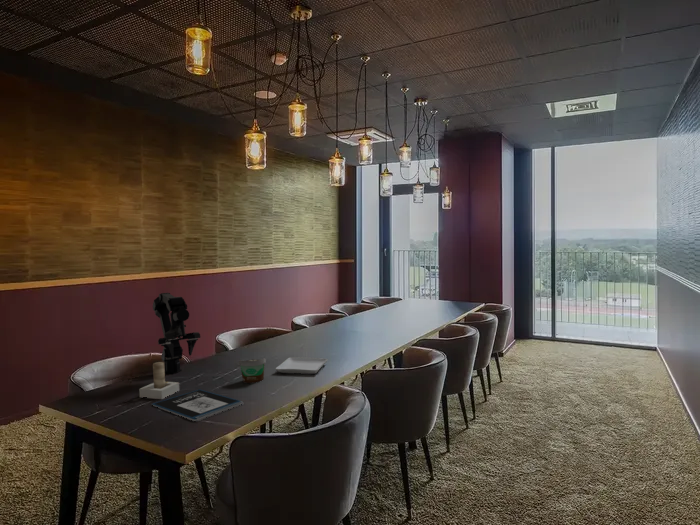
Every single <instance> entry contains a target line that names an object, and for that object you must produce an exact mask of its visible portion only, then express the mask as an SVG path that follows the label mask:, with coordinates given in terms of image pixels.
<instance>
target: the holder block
mask: <svg viewBox="0 0 700 525" xmlns="http://www.w3.org/2000/svg"><path fill="white" fill-rule="evenodd" d="M138 390H139V391H138V392H139V398H143V397H147V398H146V399H154V400H155V399H156V400H164V399H166V398H167V396H168V397H169V395H170V396H172V395H173V394H175V392H176V393H178V392H180V382H175V381H165V387H164V388H162V389H157V388H154V382H151V383H150V384H148V385H145V386H142V387H141V388H139V389H138ZM177 391H178V392H177ZM165 397H166V398H165Z"/></svg>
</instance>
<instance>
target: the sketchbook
mask: <svg viewBox="0 0 700 525" xmlns="http://www.w3.org/2000/svg"><path fill="white" fill-rule="evenodd" d="M241 404H242V405H244V401H242V400H239V399H236V398H231V397H228V396H224V395H221V394H217V393H214V392H211V391H207V390H203V389H200V388H199V389H195V390H193V391H190V392H186V393H182V394H180V395H177V396H173V397H170V398H167V399H166V398H165V399H162V400H159V401H156V402H153V403H151V406H152V405H153V407H155V408H157V407H158V409H160V410H162V411H165V412H168V413H170V412H171V413H170V414H174V415H176V416H178V415H179V416H178V417H181V416H182V417H181V418H183V417H184V419H186V418H187V419H186V420H189V421H191V420H192V421H191V422H194V421H196V422H200V421H202V420H206V419H208V418H210V417H214V416H216V415H217V414H218V415H219V414H222V413H225V411H226V412H227V411H230V409H231V410H232V409H236V407H237V408H240V407H241ZM239 405H240V406H239ZM233 407H234V408H233ZM228 409H229V410H228ZM222 411H223V412H222ZM214 414H215V415H214ZM206 417H207V418H206Z"/></svg>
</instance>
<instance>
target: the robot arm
mask: <svg viewBox="0 0 700 525" xmlns="http://www.w3.org/2000/svg"><path fill="white" fill-rule="evenodd" d="M187 309H188V304H187V303H186V301H185V298H183V297H182V296H174V295H172V294H171V293H170V292H160V293H159V295H158V297H157V296H156V298H155V299H153V302H152V311H154V315H155V316H156V317H158V318H159V321H160V324H161V326H160V327H161V329H162V334H163V337H161V338H159V339H158V342H157V345H160V346H161V347H163V349H162V352H161V361H162V362H164V370H165V374H172V375H174V374H177V373H179V372H181V371H182V369H181V363H180V360H182V359H183V352H184V349H183V348H182V346H181V343H180V341H184V340H186V343H187V349H188V356H192V354H193V350H194V348H195V345H196V343H197V341H199V339H201V334H200V332H199V331H196V332H187V333H186V330H185V328H186V327H187V325H186V324H185V322H186V321H187V320H188V319H189V318H190V312H189V310H187Z"/></svg>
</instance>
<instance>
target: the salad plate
mask: <svg viewBox="0 0 700 525" xmlns="http://www.w3.org/2000/svg"><path fill="white" fill-rule="evenodd" d="M328 360H329V359H328V358H321V357H320V358H319V357H298V356H296V357H288V358H286V360H284V361H283V362H282V363H280V364H279V365H278V366H276V367H275V371H277V372H279V373H281V374H282V373H283V374H294V373H301V374H300V375H303V374H304V375H314V374H316V373H318V372H319V370H320V369H321V368H322V367H323V366H325V364H326V363H327V362H328Z"/></svg>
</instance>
